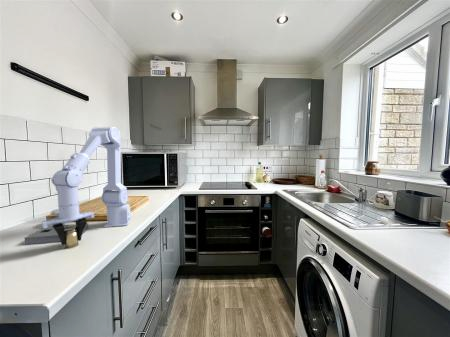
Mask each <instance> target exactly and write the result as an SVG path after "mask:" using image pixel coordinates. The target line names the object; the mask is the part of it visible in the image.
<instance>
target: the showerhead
mask: <svg viewBox="0 0 450 337" xmlns="http://www.w3.org/2000/svg"><path fill="white" fill-rule="evenodd" d="M50 216H51V217H56V218H58V217H59V208H56V209H54V210H51V211H50ZM63 225H68V223H64V224H63Z"/></svg>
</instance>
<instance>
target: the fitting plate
mask: <svg viewBox="0 0 450 337" xmlns="http://www.w3.org/2000/svg"><path fill="white" fill-rule="evenodd" d="M63 226H64V230H65V229H68V228H73V227H76V223H71V224H63ZM89 227H90V226H89V223H88V222H87V224H86V225H85V227H84V230H83V233H82V235H83V234H85V232H87V231H88V230H89V229H90V228H89ZM58 242H60V243H61V240H60V238H59V236H58V234H57V232H56V231H55V229H54V228H53V226H50V227H47V228H43V227H42V228H40V229H37V230H36V231H34V232H33V233H30V234H29V235H27V236H25V237H24V245H25V246H26V245H34V244H35V245H36V244H38V245H39V244H48V243H49V244H50V243H58Z"/></svg>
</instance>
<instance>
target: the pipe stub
mask: <svg viewBox="0 0 450 337" xmlns="http://www.w3.org/2000/svg"><path fill="white" fill-rule="evenodd" d="M64 237H65V245H63V246H64V249H73V248H76V247H77V246H80V245H79V241H78V228H76V227H73V228H68V229H65V230H64Z"/></svg>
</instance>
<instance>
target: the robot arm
mask: <svg viewBox="0 0 450 337" xmlns="http://www.w3.org/2000/svg"><path fill="white" fill-rule="evenodd" d="M121 134H122V133H121V132H120V130H119V129H118V128H117V127H115V126H106V127H105V126H103V127H102V126H101V127H98V126H95V127H93V128H91V130H90V131H89V133H88V136H89V137H88V138H87V140H86V142H85V143H84V144H83V146H82V147H81V150H80V151H79V152H76V153H73V154H71V155H70V159H69V160H68V161H67V162H66V164H65V165H63V167H62V168H61V169H59V170H58V171H56V172H55V173H54V174H53V175H52V176H53V177H52V178H51V183H52V184H53V186H54V187H55V191H56V192H57V194H56V195H57V206H58V207H57V208H58V209H59V217H58V218H57V217H54V218H51V219H47V220H43V221H41V227H42V228H47V227H50V226H53V228H54V229H55V231H56V232H57V234H58V236H59V238H60V240H61V242H60V243H61V245H62V246H64V245H65V237H64V226H63V225H65V224H64V223H67V224H68V223H72V222H74V223H75V224H76V228H78V242H80V241H82V236H83V234H84V233H83V230H84V227H85V225H86V224H87V223H88V220H87V219H93V218H95V212H94V211H88V212H80V200H79V185H80V184H81V183H82V181H83V175H84V171H85V170H86V168H87V167H88V166H89V164H90V163H91V161H90V157H91V156H92V155H93V153H94V152H95V151H96V150H97V149H98V148H99V146H102V147H104V148H105V149H106V151H107V153H106V154H107V156H106V161H107V164H106V165H107V169H106V170H107V185H105V186H104V187H103V188H102V194H101V201H102V203H103V204H104V206H106V218H107V220H106V221H107V223H106V224H104V225H103V226H104V228H105V227H106V228H109V227H123V226H128V225H129V223H130V222H131V220H132V219H131V205H130V204H129V203H127V202H128V200H129V194H128V191H127V190H128V188H127V186H125V185H123V184H122V167H121V166H122V165H121V164H122V162H121V160H122V159H121V157H122V156H121V153H122V152H121V149H122V148H121V146H122V140H121V139H122V138H121V137H122V135H121ZM82 233H83V234H82Z"/></svg>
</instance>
